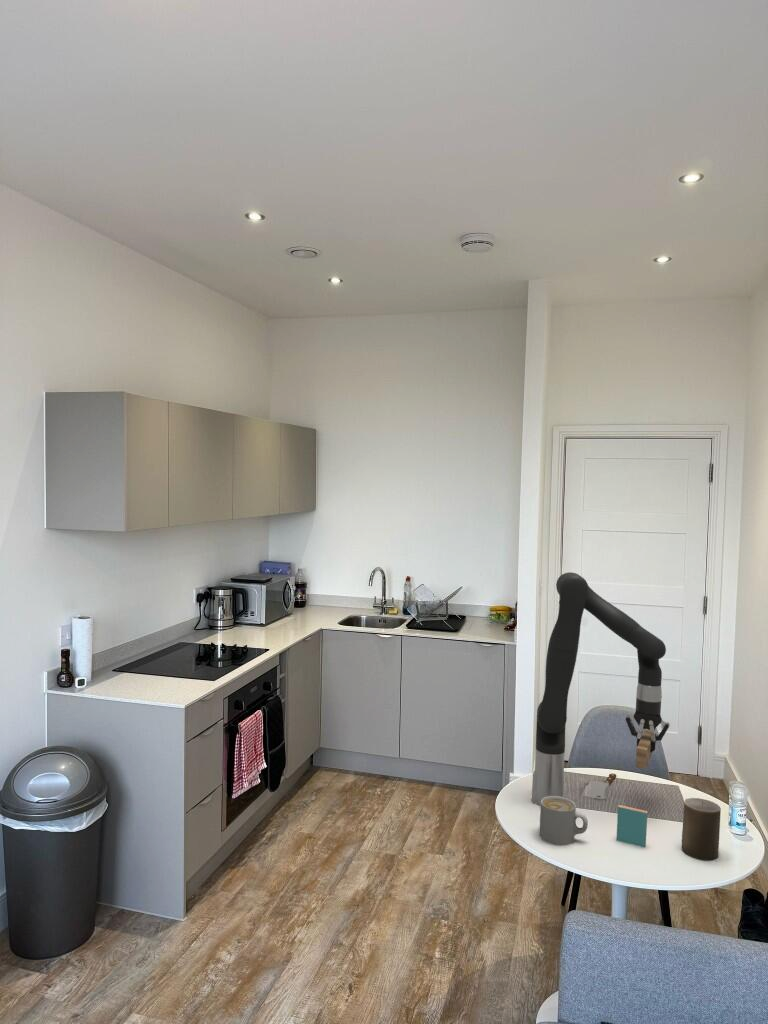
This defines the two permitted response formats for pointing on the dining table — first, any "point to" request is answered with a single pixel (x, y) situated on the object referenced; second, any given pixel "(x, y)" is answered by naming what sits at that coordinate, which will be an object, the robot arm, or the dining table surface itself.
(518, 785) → the dining table surface
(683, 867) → the dining table surface
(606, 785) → the kitchen cleaver
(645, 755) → the curved tan slat
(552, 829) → the coffee mug
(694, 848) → the pillar candle
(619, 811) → the tile
